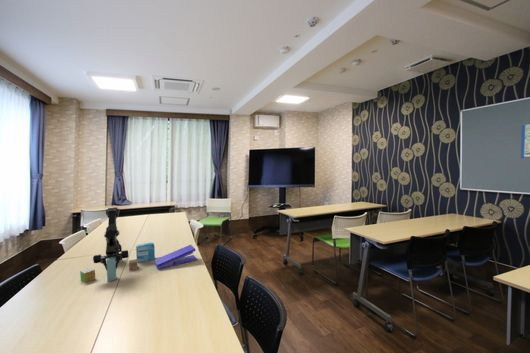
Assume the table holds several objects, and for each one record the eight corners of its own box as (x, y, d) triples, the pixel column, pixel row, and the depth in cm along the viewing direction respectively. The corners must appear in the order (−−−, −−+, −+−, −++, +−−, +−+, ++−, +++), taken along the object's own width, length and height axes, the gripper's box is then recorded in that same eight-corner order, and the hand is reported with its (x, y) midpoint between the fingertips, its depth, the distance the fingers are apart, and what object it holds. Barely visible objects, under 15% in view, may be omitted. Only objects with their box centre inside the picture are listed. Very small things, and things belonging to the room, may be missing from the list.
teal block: (107, 278, 151) (107, 257, 150) (116, 276, 153) (115, 256, 153) (107, 281, 147) (106, 260, 146) (116, 279, 149) (115, 258, 149)
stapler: (198, 261, 178) (197, 247, 178) (157, 270, 163) (156, 256, 162) (193, 256, 188) (192, 243, 187) (154, 264, 172) (153, 251, 171)
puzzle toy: (84, 282, 147) (84, 273, 146) (80, 280, 150) (80, 271, 149) (95, 278, 152) (94, 269, 151) (91, 276, 155) (90, 267, 154)
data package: (136, 262, 175) (136, 246, 175) (136, 260, 179) (136, 244, 179) (154, 259, 181) (154, 243, 181) (154, 257, 185) (153, 242, 185)
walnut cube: (129, 267, 167) (128, 260, 167) (137, 266, 170) (137, 259, 170) (129, 270, 163) (129, 263, 163) (137, 268, 166) (137, 261, 165)
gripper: (92, 242, 148) (91, 267, 139) (127, 237, 157) (128, 260, 148) (94, 251, 155) (93, 275, 146) (128, 246, 164) (128, 268, 155)
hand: (111, 269), depth 149 cm, fingers closed on teal block, 4 cm apart
